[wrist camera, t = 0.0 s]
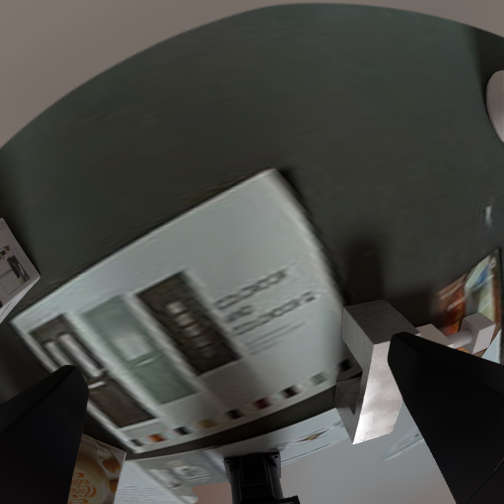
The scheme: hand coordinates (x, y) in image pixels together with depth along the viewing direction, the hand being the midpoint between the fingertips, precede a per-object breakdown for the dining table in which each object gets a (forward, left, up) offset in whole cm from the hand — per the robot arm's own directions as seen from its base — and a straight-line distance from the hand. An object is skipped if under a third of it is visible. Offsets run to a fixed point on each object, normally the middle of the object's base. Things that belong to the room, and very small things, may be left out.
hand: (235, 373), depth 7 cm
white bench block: (-12, -11, -15) cm, 22 cm away
